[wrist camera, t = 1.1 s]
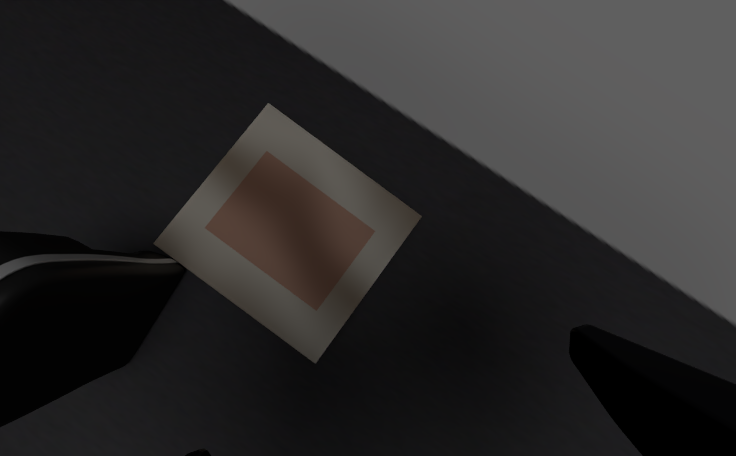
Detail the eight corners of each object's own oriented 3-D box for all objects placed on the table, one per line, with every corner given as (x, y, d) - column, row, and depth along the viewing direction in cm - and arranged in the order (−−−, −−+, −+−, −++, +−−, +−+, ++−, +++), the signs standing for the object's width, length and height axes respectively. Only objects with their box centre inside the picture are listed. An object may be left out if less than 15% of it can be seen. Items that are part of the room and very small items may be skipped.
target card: (315, 362, 22) (315, 363, 21) (156, 243, 22) (153, 243, 21) (420, 217, 23) (421, 216, 22) (269, 105, 23) (268, 102, 22)
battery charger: (136, 234, 22) (-95, 204, 10) (191, 265, 22) (21, 269, 10) (69, 338, 21) (-261, 430, 9) (127, 370, 21) (-135, 500, 10)
